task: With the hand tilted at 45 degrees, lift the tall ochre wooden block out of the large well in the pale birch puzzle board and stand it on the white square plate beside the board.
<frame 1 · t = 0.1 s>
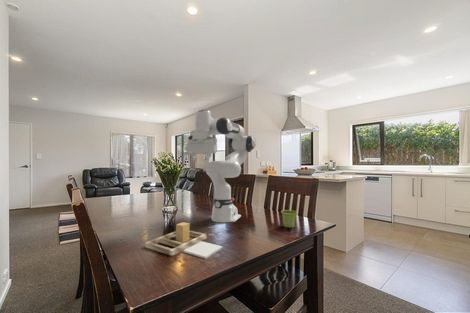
hand: (200, 161, 121), 39 cm above the table, fingers open, 8 cm apart
puzzle board: (177, 242, 101), on the table
plant pot: (289, 226, 127), on the table
ochre block: (182, 240, 104), resting in puzzle board
white square plate: (203, 250, 93), on the table
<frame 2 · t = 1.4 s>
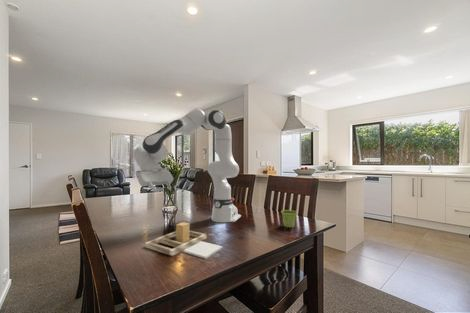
hand: (163, 189, 112), 24 cm above the table, fingers open, 8 cm apart
nothing on the table moved.
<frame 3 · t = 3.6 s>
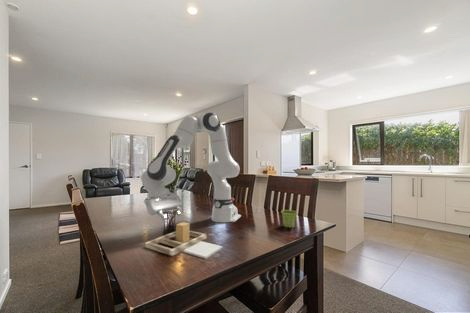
hand: (172, 216, 108), 10 cm above the table, fingers open, 8 cm apart
nothing on the table moved.
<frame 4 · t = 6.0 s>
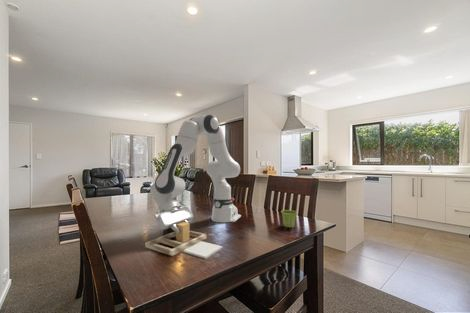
hand: (183, 230, 104), 5 cm above the table, fingers closed on ochre block, 4 cm apart
ochre block: (182, 240, 104), resting in puzzle board, touching gripper
everything else where it was.
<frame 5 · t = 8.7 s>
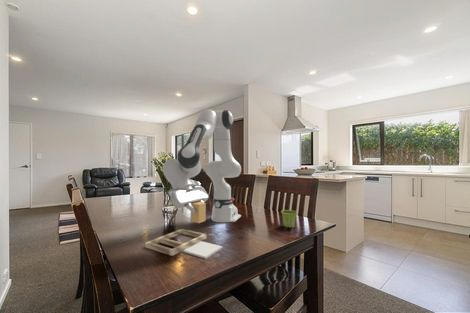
hand: (199, 211, 95), 17 cm above the table, fingers closed on ochre block, 4 cm apart
ochre block: (198, 221, 95), point 12 cm above the table, touching gripper
everything else where it was.
when the fingers open (6 cm above the table, at t = 11.3 s): ochre block stays where it is, resting on white square plate.
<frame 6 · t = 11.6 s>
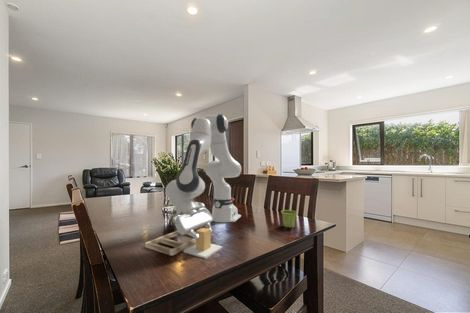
hand: (204, 235, 93), 6 cm above the table, fingers open, 8 cm apart
ochre block: (203, 248, 93), point 1 cm above the table, touching white square plate
everything else where it was.
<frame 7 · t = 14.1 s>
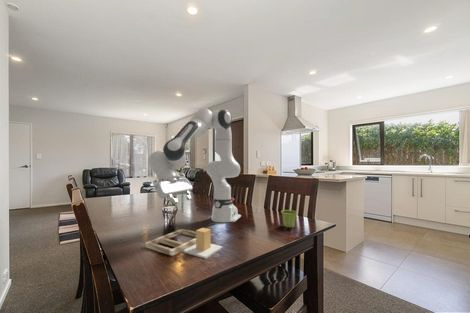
hand: (183, 201, 101), 20 cm above the table, fingers open, 8 cm apart
nothing on the table moved.
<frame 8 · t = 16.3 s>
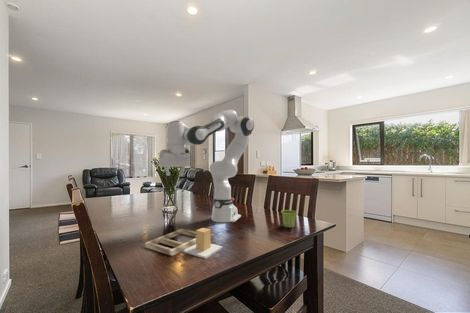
hand: (174, 175, 118), 31 cm above the table, fingers open, 8 cm apart
nothing on the table moved.
at the end: ochre block inside the target area (0.1 cm from its centre), point 0.8 cm above the table; ochre block tilted 0°; the gripper is holding nothing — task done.
